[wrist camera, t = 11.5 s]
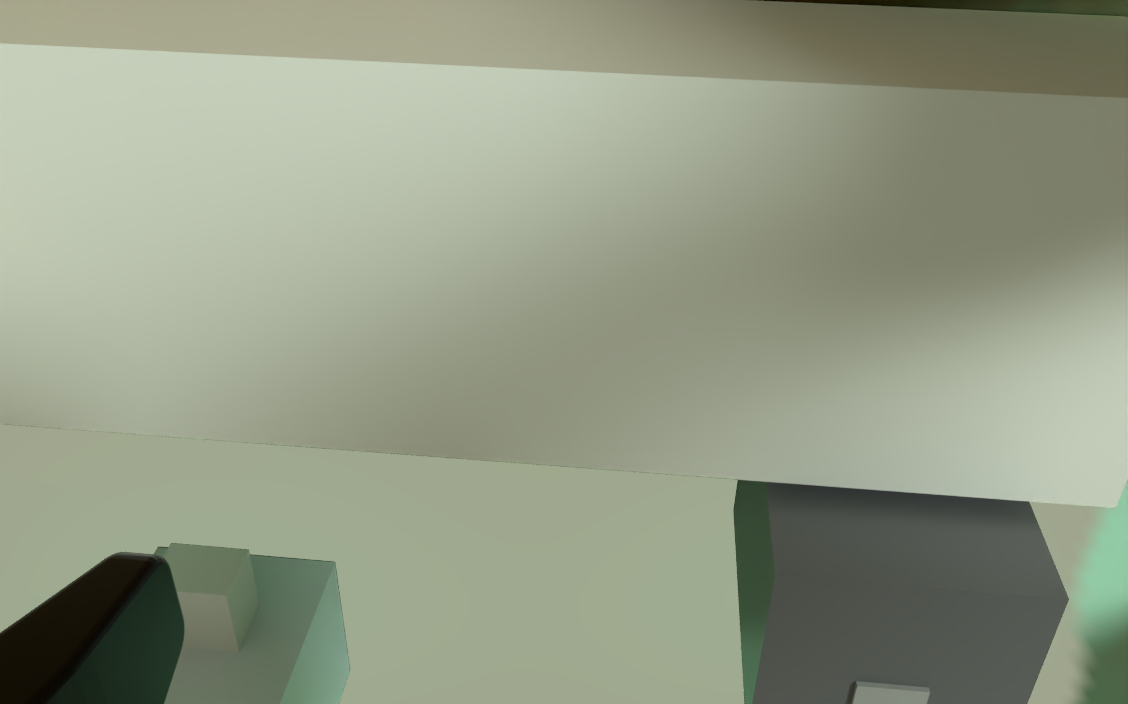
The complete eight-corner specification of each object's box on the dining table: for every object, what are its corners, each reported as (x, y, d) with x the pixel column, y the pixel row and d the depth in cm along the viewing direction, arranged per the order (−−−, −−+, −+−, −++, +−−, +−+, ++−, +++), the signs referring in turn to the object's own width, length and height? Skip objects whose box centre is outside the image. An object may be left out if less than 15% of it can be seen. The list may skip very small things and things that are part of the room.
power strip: (1164, 18, 17) (1294, 116, 13) (1047, 373, 21) (1124, 524, 17) (-123, -38, 19) (-321, 37, 15) (-11, 302, 22) (-146, 427, 19)
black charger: (1000, 302, 20) (1106, 516, 15) (936, 526, 23) (1006, 764, 18) (764, 287, 21) (791, 492, 16) (733, 510, 24) (746, 740, 19)
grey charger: (327, 506, 25) (236, 723, 20) (350, 669, 28) (276, 892, 23) (143, 491, 25) (7, 701, 20) (187, 654, 28) (78, 870, 23)
